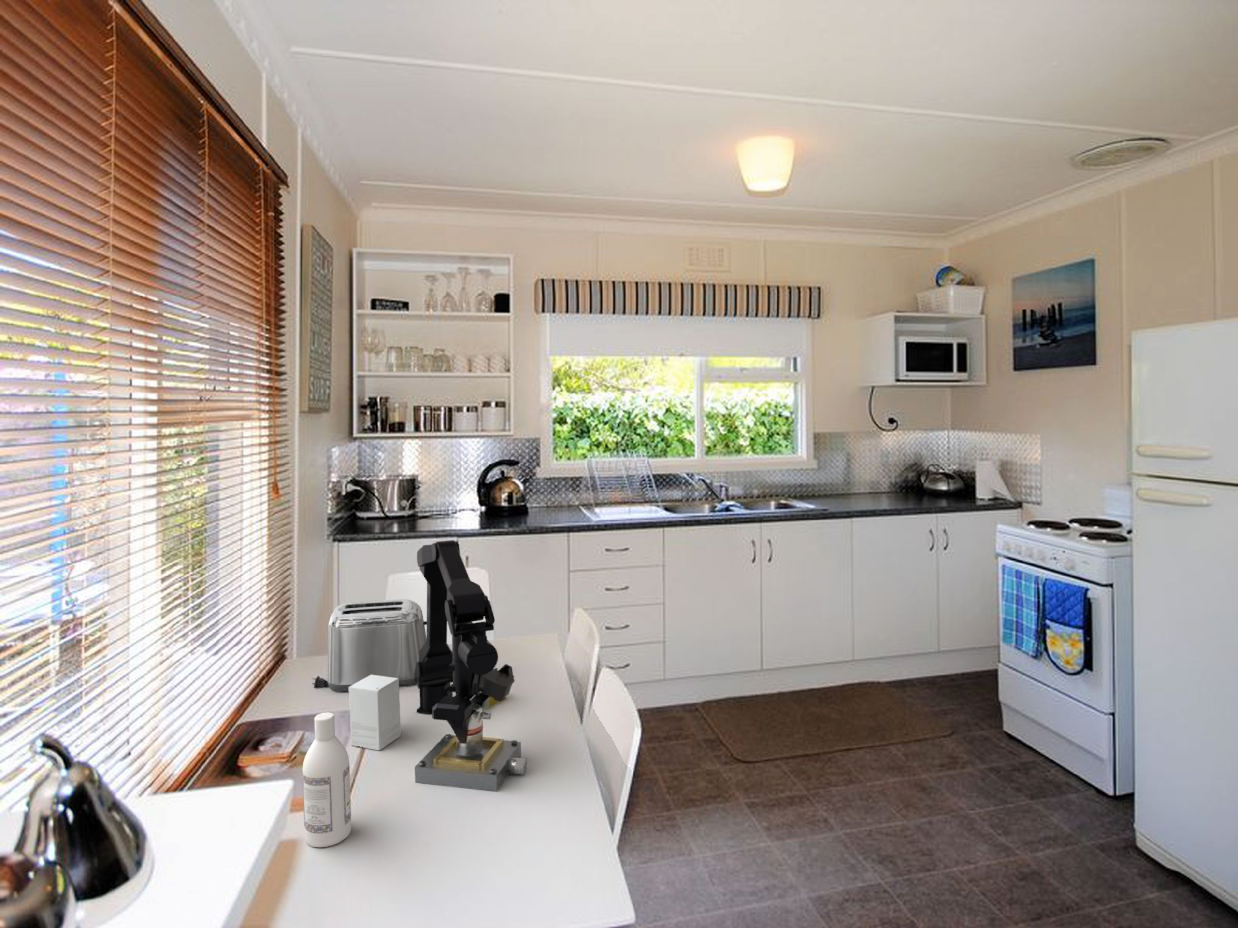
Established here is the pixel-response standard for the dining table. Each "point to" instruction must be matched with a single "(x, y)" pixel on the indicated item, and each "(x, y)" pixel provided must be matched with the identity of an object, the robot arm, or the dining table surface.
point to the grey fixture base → (471, 764)
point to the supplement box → (374, 712)
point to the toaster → (373, 642)
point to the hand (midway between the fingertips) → (469, 736)
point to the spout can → (473, 733)
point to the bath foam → (326, 786)
